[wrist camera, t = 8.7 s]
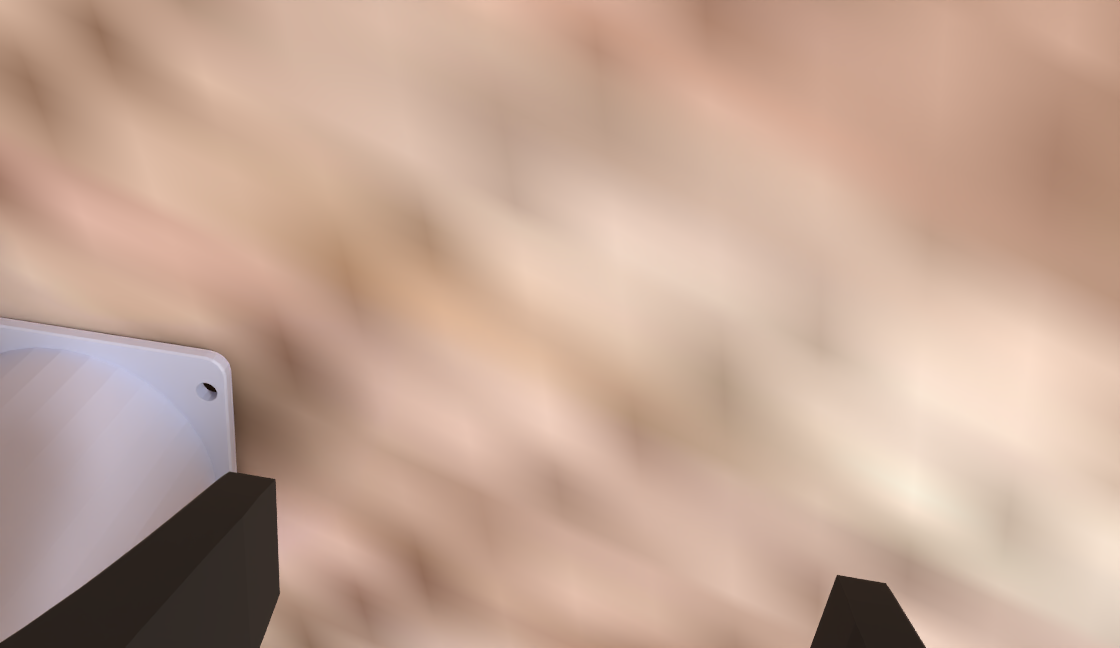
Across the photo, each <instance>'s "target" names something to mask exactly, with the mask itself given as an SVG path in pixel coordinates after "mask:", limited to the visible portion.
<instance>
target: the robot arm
mask: <svg viewBox="0 0 1120 648" xmlns="http://www.w3.org/2000/svg"><path fill="white" fill-rule="evenodd" d="M203 383H208V384H210V385H212V386H213V387H214V388H215V389H216V391H217V392H212V391H210V390H208V389H207V388H206V387H205V386H204V384H203ZM279 594H280V588H279V561H278V535H277V508H276V481H275V479H271V478H265V477H259V476H253V475H247V474H241V473H237V462H236V445H235V427H234V410H233V392H232V375H231V368H230V364H229V363H228V361H227V360H226V359H225V357H223V356H222V355H220V354H219V353H217V352H214V351H211V350H206V349H200V348H193V347H187V346H181V345H174V344H168V343H161V342H155V341H149V340H142V339H136V338H129V337H123V336H117V335H110V334H104V333H97V332H91V331H85V330H78V329H72V328H66V327H59V326H53V325H46V324H40V323H34V322H27V321H21V320H14V319H8V318H2V317H0V648H260V645H261V643H262V640H263V638H264V635H265V632H266V630H267V627H268V624H269V622H270V619H271V616H272V613H273V611H274V608H275V605H276V603H277V600H278V597H279ZM810 648H926V647H925V645H924V644H923V642H922V640H921V639H920V637H919V636H918V634H917V632H916V631H915V629H914V627H913V626H912V624H911V622H910V621H909V619H908V618H907V616H906V614H905V613H904V611H903V609H902V608H901V606H900V604H899V603H898V601H897V600H896V598H895V596H894V595H893V593H892V592H891V590H890V589H889V587H888V586H887V584H886V583H881V582H875V581H869V580H863V579H857V578H852V577H846V576H840V575H837V577H836V579H835V582H834V585H833V587H832V590H831V593H830V596H829V598H828V601H827V604H826V606H825V609H824V612H823V615H822V617H821V620H820V623H819V625H818V628H817V631H816V634H815V636H814V639H813V642H812V645H811V647H810Z"/></svg>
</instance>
